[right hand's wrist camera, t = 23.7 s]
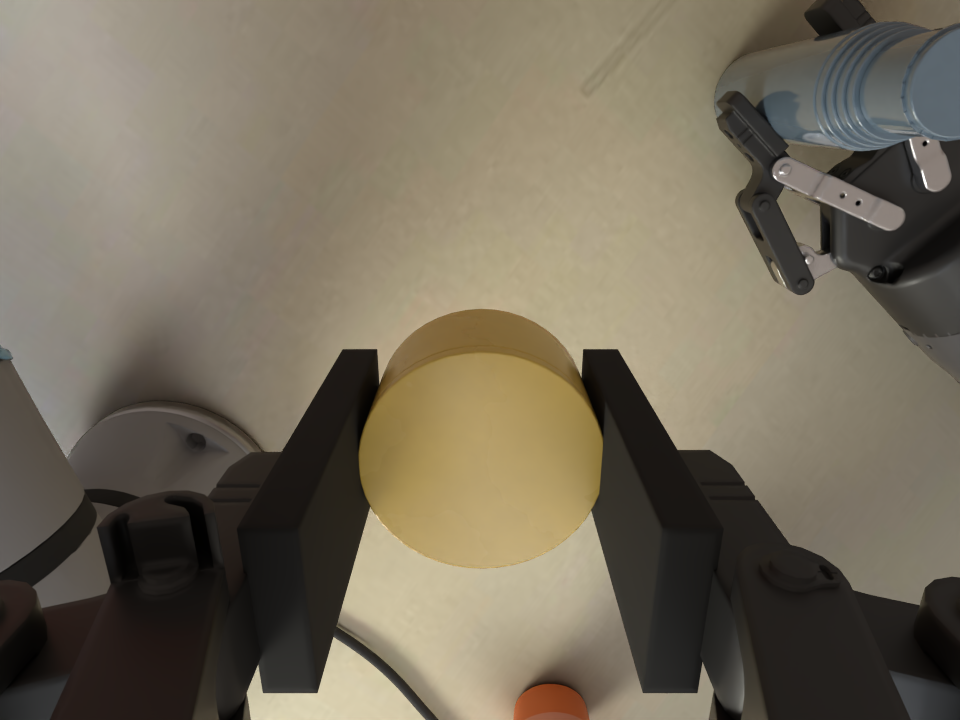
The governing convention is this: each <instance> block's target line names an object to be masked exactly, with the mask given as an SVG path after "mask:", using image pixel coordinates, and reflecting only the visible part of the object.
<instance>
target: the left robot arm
mask: <svg viewBox="0 0 960 720" xmlns="http://www.w3.org/2000/svg"><path fill="white" fill-rule="evenodd" d="M804 15H805V18H806V20H807V21H808V22H809V23H810V25H811V26H812V27H813V28H814V30H815V31H816V32H817V33H818V34H819V36H823V35H827V34H831V33H835V32H839V31H843V30H848V29H852V28H856V27H860V26H864V25H868V24H873V23H876V22H875V21H874V19H873V18H871V16H870V14H869V13H868V12H867V11H866V9H865V8H864V7H863V5H862V4H861V3H860V2H859V1H858V0H817V1H816V2H815V3H814V4H813V5H812V6H811V7H810V8H809V9H808V10H807V11H806V12H805V13H804ZM941 29H944V28H941ZM941 29H935V30H933V31H936V30H941ZM716 105H717V106H718V108H719V109H720V110H721V111H722V112H723V113H722V114H721V115H720V116H719V117H718V118H717V119H716V120H717V123H718V126H719V129H720V130H721V131H722V132H723V133H724V134H725V135H726V137H728V139H729V140H730V141H731V142H732V143H733V144H734V145H735V146H736V148H737V149H738V150H739V151H740V152H741V153H742V154H743V155H744V156H745V157H746V158H747V160H748V161H749V162H750V163H751V165H752V169H753V172H752V177H751V179H750V181H749V183H748V184H747V186H746V188H745V189H743V190H741V191H740V192H739V193H738V194H737V196H736V200H735V203H736V206H737V208H738V210H739V212H740V214H741V216H742V218H743V220H744V222H745V224H746V226H747V228H748V230H749V232H750V234H751V236H752V238H753V240H754V242H755V244H756V246H757V248H758V250H759V252H760V254H761V256H762V258H763V260H764V262H765V264H766V265H767V267H768V269H769V271H770V273H771V275H772V277H773V279H774V281H775V282H777V283H779V284H780V285H781V286H783V287H785V288H786V289H788V290H790V291H792V292H793V293H795V294H797V295H804V294H806V293H808V292H810V291H811V289H812V288H813V286H814V280H815V279H816V278H818V277H820V276H822V275H824V274H825V273H827V272H829V271H831V270H833V269H834V268H836V267H838V268H840V269H842V270H846V271H850V272H851V273H852V274H853V275H854V276H855V277H856V278H857V279H858V280H859V281H860V283H861V284H862V285H863V286H864V287H865V288H866V289H867V290H868V291H869V292H870V294H871V295H872V296H873V297H874V298H875V299H876V300H877V301H878V302H879V303H880V305H881V306H882V307H883V308H884V309H885V310H886V311H887V312H888V313H889V314H890V316H891V317H892V318H893V319H894V320H895V321H896V322H897V323H898V324H899V325H900V327H901V328H902V329H903V332H904V334H905V335H906V336H907V337H908V338H909V340H910V341H911V342H912V343H913V344H914V345H917V346H919V347H920V348H921V350H922V351H923V352H924V353H925V354H926V355H927V356H928V357H929V358H930V359H931V360H933V361H934V362H935V363H936V364H938V365H939V366H940V367H941V368H943V369H944V370H945V371H947V372H948V373H949V374H950V375H951V376H952V377H953V378H954V379H955V380H957V382H958V383H959V384H960V139H959V140H953V141H939V140H932V139H928V138H926V137H914V138H911V139H908V140H906V141H903V142H900V143H897V144H895V145H892V146H889V147H886V148H883V149H878V150H870V151H854V152H853V154H852V155H851V156H850V157H849V158H847V159H845V160H844V161H842V162H840V163H839V164H837V165H835V166H834V167H833V168H832V169H831V170H830V171H829V172H828V173H827V174H826V173H823V172H821V171H818V170H816V169H814V168H812V167H810V166H808V165H806V164H804V163H801V162H799V161H797V160H795V159H793V158H791V157H790V156H789V155H788V154H787V153H786V152H785V151H784V150H785V149H786V148H787V147H788V146H789V145H788V144H787V143H786V142H785V141H784V140H783V139H782V138H781V136H780V135H779V134H778V133H777V132H776V131H775V130H774V129H773V127H772V126H771V125H770V124H769V123H768V122H767V121H766V120H765V118H764V117H763V116H762V115H761V114H760V113H759V112H758V111H757V109H756V108H755V107H754V106H753V105H752V104H751V103H750V101H749V100H748V99H747V98H746V97H745V96H744V95H743V94H742V93H740V92H739V91H727V92H726V93H725V94H724V95H723V96H722V97H721V98H720V99H719V100H718V101H717V102H716ZM783 188H785V189H787V190H788V191H789V192H791V193H794V194H796V195H798V196H800V197H802V198H804V199H806V200H809V201H811V202H813V203H815V204H817V205H819V206H820V231H821V250H820V251H816V252H815V251H814V250H813V249H812V248H811V247H809V246H807V245H805V244H802V243H799V242H796V241H795V238H794V236H793V234H792V232H791V230H790V228H789V226H788V224H787V222H786V220H785V218H784V216H783V214H782V212H781V209H780V207H779V205H778V203H777V201H776V200H777V198H778V197H779V195H780V193H781V191H782V190H783Z"/></svg>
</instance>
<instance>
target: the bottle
mask: <svg viewBox="0 0 960 720" xmlns="http://www.w3.org/2000/svg"><path fill="white" fill-rule="evenodd" d="M727 91H739V92H740V93H742V94H743V95H744V96H745V97H746V98H747V99H748V100H749V101H750V103H751V104H752V105H753V106H754V107H755V108H756V109H757V111H758V112H759V113H760V114H761V115H762V116H763V117H764V118H765V120H766V121H767V122H768V123H769V124H770V125H771V126H772V127H773V129H774V130H775V131H776V132H777V133H778V134H779V135H780V136H781V138H782V139H783V140H784V141H785V142H786V143H787V144H795V145H805V146H814V147H823V148H833V149H842V150H852V151H870V150H878V149H883V148H886V147H889V146H892V145H895V144H897V143H900V142H903V141H906V140H908V139H911V138H914V137H926V138H928V139H932V140H939V141H953V140H959V139H960V23H958V24H953V25H951V26H948V27H946V28H944V29H941V30H936V31H933V30H930V29H926V28H923V27H920V26H917V25H913V24H910V23H906V22H896V21H895V22H877V23H873V24H868V25H864V26H860V27H856V28H852V29H848V30H843V31H839V32H835V33H831V34H827V35H823V36H818V37H814V38H810V39H806V40H802V41H798V42H793V43H789V44H785V45H781V46H777V47H772V48H768V49H764V50H760V51H756V52H752V53H749V54H746V55H744V56H742V57H740V58H739V59H737V60H736V61H734V62H733V63H732V64H731V65H730V66H729V67H728V68H727V69H726V71H725V72H724V73H723V75H722V77H721V78H720V80H719V83H718V85H717V88H716V92H715V99H714V105H715V112H716V115H717V118H718V117H719V116H720V115H721V114H722V113H723V112H722V111H721V110H720V109H719V108H718V106H717V105H716V102H717V101H718V100H719V99H720V98H721V97H722V96H723V95H724V94H725V93H726V92H727Z"/></svg>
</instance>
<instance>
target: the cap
mask: <svg viewBox="0 0 960 720" xmlns="http://www.w3.org/2000/svg"><path fill="white" fill-rule="evenodd" d="M602 451H603V435H602V432H601V428H600V425H599V422H598V420H597V417H596V415H595V412H594V409H593V407H592V404H591V402H590V399H589V397H588V394H587V391H586V389H585V386H584V384H583V381H582V379H581V376H580V373H579V371H578V369H577V367H576V365H575V363H574V361H573V359H572V357H571V356H570V354H569V353H568V351H567V350H566V348H565V347H564V346H563V345H562V344H561V343H560V342H559V341H558V339H557V338H555V337H554V336H553V335H552V334H551V333H550V332H548V331H547V330H546V329H544V328H543V327H541V326H540V325H538V324H536V323H535V322H533V321H531V320H528V319H526V318H524V317H522V316H519V315H516V314H512V313H509V312H504V311H499V310H489V309H474V310H464V311H459V312H454V313H451V314H448V315H445V316H442V317H439V318H437V319H435V320H433V321H431V322H429V323H427V324H425V325H424V326H422V327H421V328H419V329H418V330H416V331H415V332H414V333H413V334H411V335H410V336H409V337H408V338H407V339H406V340H405V341H404V342H403V343H402V344H401V345H400V347H399V348H398V349H397V350H396V351H395V353H394V355H393V356H392V358H391V359H390V361H389V363H388V365H387V367H386V370H385V372H384V374H383V377H382V379H381V382H380V385H379V387H378V390H377V393H376V395H375V398H374V401H373V403H372V406H371V409H370V411H369V414H368V417H367V420H366V422H365V425H364V428H363V431H362V435H361V438H360V444H359V452H358V457H359V471H360V480H361V484H362V488H363V491H364V494H365V496H366V499H367V501H368V503H369V505H370V507H371V509H372V510H373V512H374V513H375V515H376V516H377V518H378V519H379V521H380V522H381V523H382V524H383V525H384V526H385V528H386V529H387V530H388V531H389V532H390V533H391V534H392V535H393V536H395V537H396V538H397V539H398V540H399V541H400V542H402V543H403V544H405V545H406V546H408V547H409V548H411V549H412V550H414V551H416V552H418V553H420V554H422V555H424V556H426V557H428V558H431V559H433V560H436V561H438V562H442V563H446V564H450V565H453V566H460V567H467V568H497V567H504V566H509V565H514V564H518V563H521V562H525V561H528V560H530V559H533V558H535V557H538V556H540V555H542V554H544V553H546V552H548V551H549V550H551V549H553V548H555V547H556V546H557V545H559V544H560V543H562V542H563V541H564V540H566V539H567V538H568V537H569V536H570V535H571V534H572V533H573V532H575V531H576V530H577V529H578V527H579V526H580V525H581V524H582V523H583V521H584V520H585V519H586V518H587V516H588V514H589V513H590V511H591V510H592V508H593V506H594V504H595V502H596V500H597V498H598V496H599V490H600V477H601V464H602Z"/></svg>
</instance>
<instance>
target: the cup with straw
mask: <svg viewBox="0 0 960 720" xmlns="http://www.w3.org/2000/svg"><path fill="white" fill-rule="evenodd" d="M514 720H589V716H588V712H587V708H586V705H585V702H584V700H583V699H582V697H581V696H580V695H579V694H578V693H577V692H576V691H574V690H572V689H571V688H568V687H566V686H563V685H558V684H543V685H538V686H535V687H533V688H530V689H529V690H527V691H526V692H524V693H523V694H522V695H521V696H520V697H519V699H518V700H517V702H516V705H515V710H514Z"/></svg>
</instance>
